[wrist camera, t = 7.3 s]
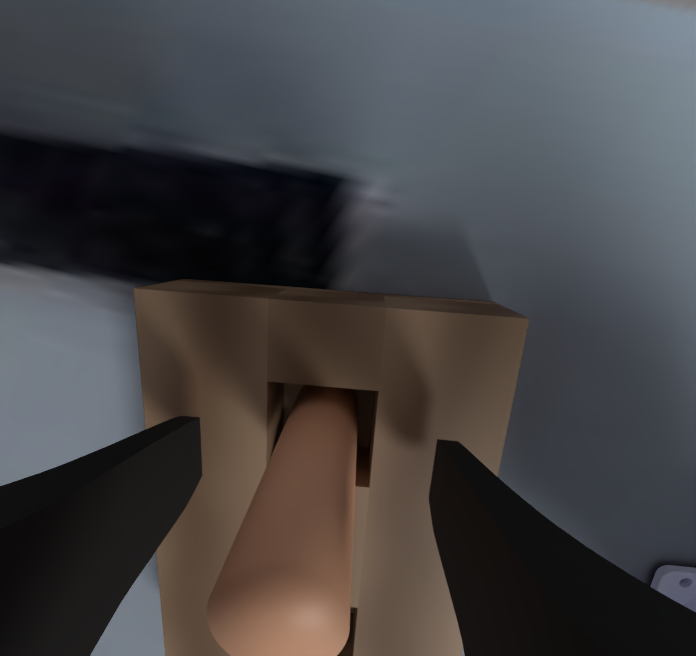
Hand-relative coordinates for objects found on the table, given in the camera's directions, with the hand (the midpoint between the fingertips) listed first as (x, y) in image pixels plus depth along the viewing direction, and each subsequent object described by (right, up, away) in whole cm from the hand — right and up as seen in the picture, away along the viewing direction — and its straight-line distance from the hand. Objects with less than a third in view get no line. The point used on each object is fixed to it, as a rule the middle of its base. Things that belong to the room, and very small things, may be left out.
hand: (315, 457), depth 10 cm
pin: (0, +1, +3) cm, 4 cm away
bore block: (0, -3, +5) cm, 6 cm away
